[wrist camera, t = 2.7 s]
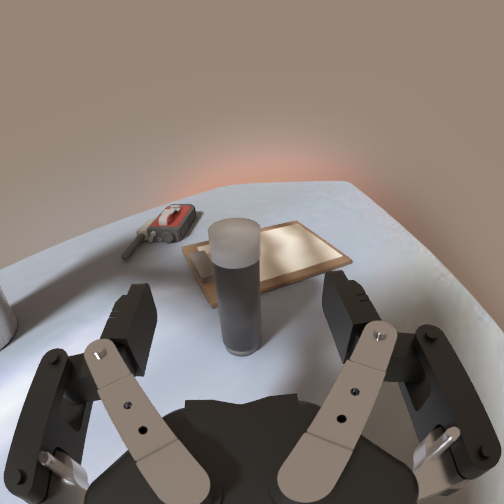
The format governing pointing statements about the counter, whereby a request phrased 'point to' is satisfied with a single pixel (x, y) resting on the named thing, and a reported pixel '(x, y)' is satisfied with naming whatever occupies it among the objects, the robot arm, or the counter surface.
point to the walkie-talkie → (165, 226)
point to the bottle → (237, 282)
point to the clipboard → (274, 258)
